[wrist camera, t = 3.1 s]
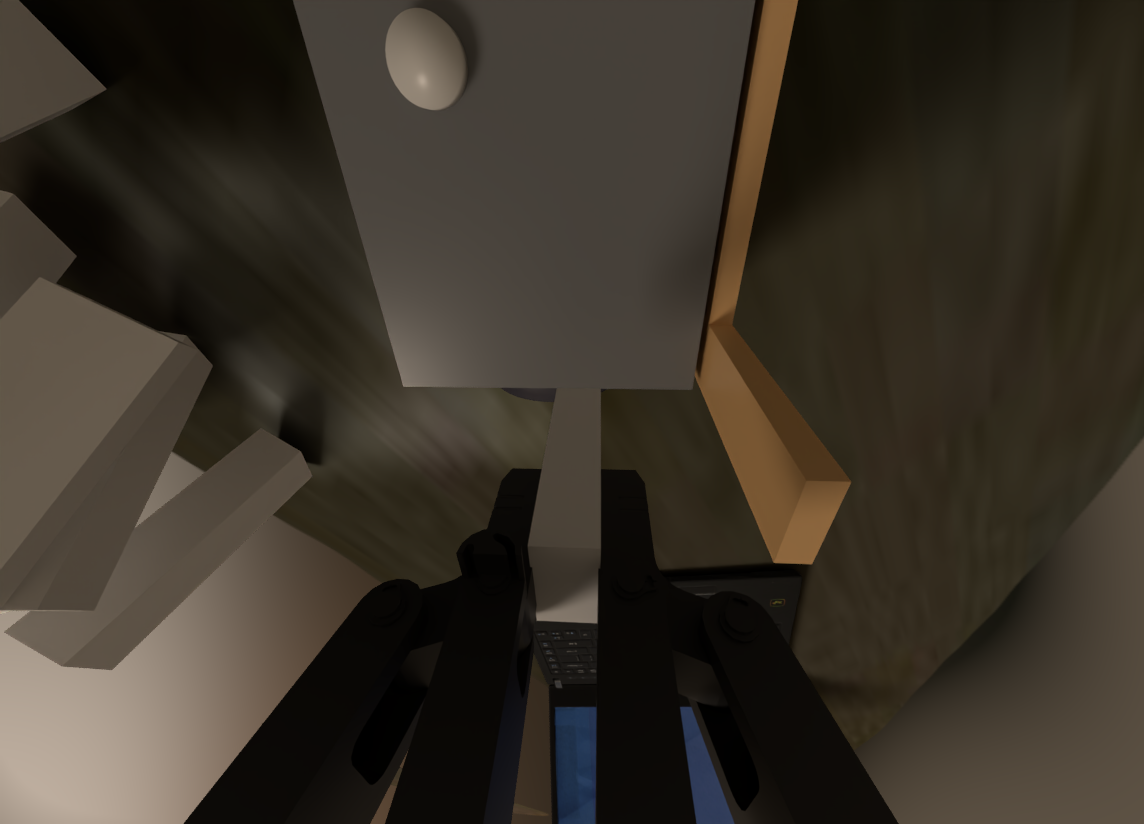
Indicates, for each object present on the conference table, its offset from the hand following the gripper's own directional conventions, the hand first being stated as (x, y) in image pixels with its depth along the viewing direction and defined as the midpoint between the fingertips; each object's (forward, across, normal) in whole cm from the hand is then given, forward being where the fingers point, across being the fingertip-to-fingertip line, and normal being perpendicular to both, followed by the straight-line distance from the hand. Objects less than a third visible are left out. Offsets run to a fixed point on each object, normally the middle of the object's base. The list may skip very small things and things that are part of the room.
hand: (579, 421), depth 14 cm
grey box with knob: (+17, -2, +6) cm, 18 cm away
